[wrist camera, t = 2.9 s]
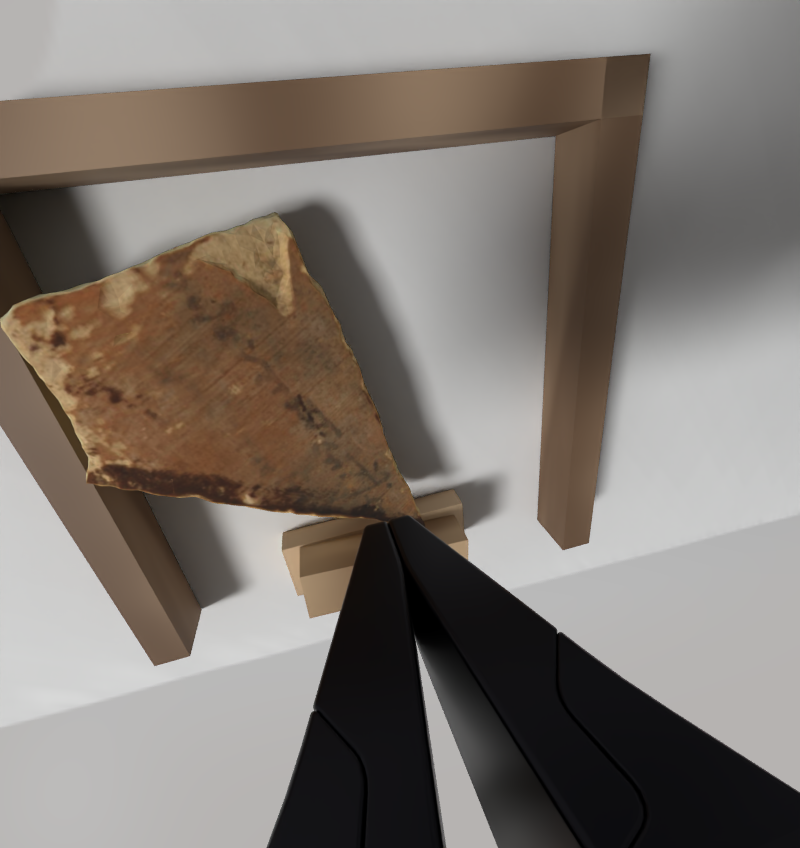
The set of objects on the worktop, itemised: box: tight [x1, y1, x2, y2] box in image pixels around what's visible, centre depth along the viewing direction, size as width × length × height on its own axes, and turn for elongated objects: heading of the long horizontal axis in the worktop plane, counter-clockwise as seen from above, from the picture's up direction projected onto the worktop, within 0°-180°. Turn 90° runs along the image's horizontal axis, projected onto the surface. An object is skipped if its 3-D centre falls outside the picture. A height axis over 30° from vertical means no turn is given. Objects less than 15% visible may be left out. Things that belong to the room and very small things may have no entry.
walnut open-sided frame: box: [0, 54, 650, 666], centre depth 13 cm, size 17×16×2 cm
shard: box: [0, 212, 425, 527], centre depth 12 cm, size 11×8×2 cm
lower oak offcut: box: [282, 489, 464, 596], centre depth 16 cm, size 7×2×2 cm, turn 98°
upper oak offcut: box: [300, 515, 468, 618], centre depth 15 cm, size 6×2×2 cm, turn 94°
